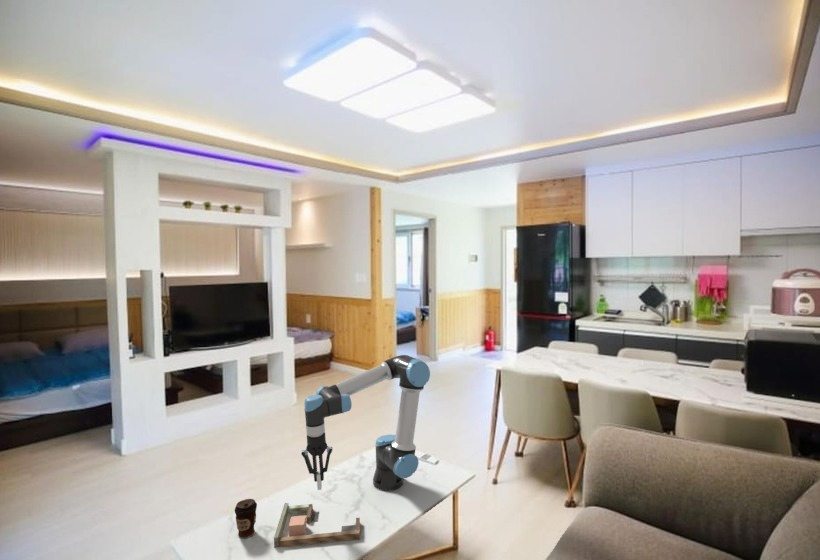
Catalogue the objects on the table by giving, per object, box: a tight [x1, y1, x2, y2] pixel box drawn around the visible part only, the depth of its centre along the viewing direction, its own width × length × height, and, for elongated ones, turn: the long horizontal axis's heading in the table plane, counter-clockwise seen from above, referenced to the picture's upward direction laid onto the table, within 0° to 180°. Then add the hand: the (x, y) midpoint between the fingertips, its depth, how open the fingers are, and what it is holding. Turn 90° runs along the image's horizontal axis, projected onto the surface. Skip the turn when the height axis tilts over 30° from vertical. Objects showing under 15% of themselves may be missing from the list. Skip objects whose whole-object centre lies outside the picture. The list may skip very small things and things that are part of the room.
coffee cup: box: [234, 498, 258, 539], centre depth 167 cm, size 9×8×13 cm
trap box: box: [273, 502, 361, 548], centre depth 173 cm, size 33×23×4 cm
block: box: [288, 514, 307, 537], centre depth 168 cm, size 6×6×5 cm
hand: (319, 487), depth 172 cm, fingers closed
